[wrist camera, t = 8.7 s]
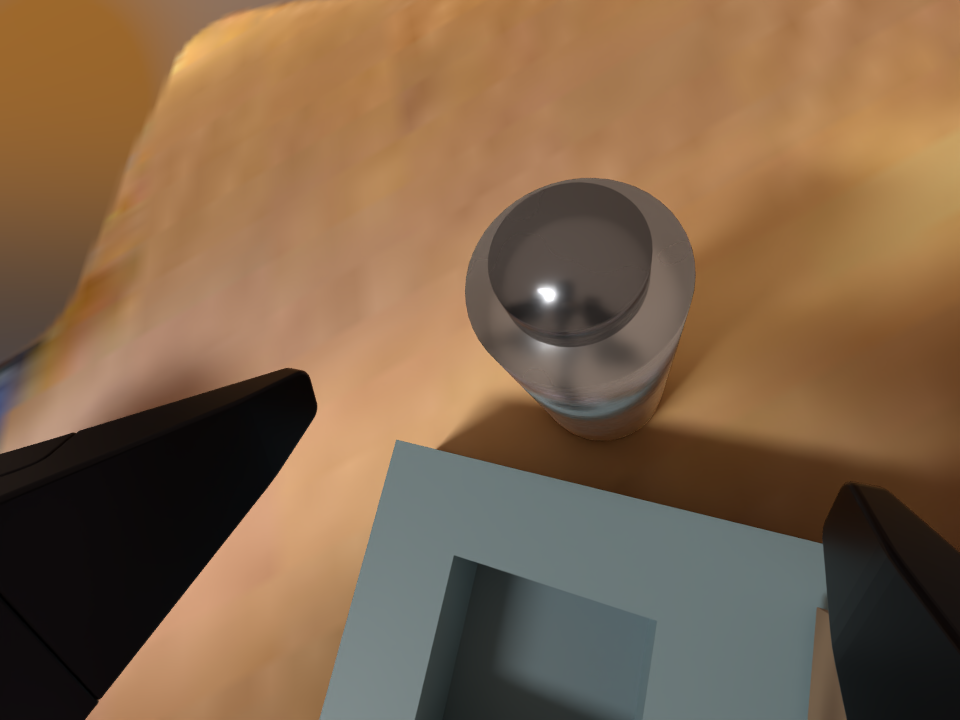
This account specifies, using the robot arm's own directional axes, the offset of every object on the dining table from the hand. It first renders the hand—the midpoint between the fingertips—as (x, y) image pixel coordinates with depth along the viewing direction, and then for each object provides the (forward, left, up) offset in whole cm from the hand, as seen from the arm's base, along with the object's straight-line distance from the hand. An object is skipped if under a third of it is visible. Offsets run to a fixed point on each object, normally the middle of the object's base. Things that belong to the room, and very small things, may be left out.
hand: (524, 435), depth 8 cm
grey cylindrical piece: (+3, -2, -10) cm, 11 cm away
